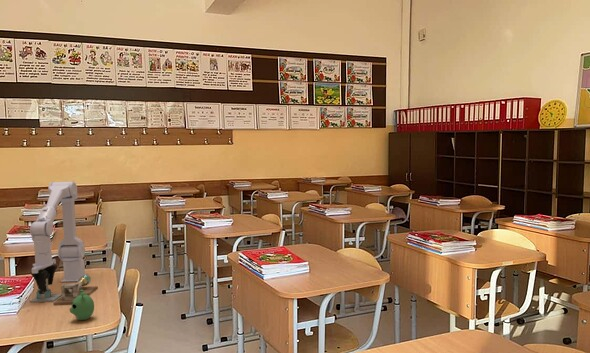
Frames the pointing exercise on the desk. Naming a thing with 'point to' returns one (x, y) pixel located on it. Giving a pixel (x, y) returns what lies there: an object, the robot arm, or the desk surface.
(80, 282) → the shaft
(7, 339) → the desk surface
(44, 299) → the pad
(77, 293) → the bracket
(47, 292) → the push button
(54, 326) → the desk surface
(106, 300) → the desk surface
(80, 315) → the alien toy
